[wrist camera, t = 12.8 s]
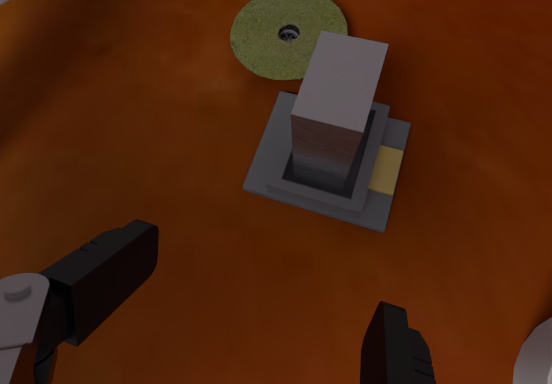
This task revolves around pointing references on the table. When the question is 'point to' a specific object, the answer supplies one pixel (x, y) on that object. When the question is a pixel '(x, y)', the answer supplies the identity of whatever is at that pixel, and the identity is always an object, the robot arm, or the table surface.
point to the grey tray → (361, 177)
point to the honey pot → (535, 357)
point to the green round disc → (283, 35)
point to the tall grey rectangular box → (334, 108)
